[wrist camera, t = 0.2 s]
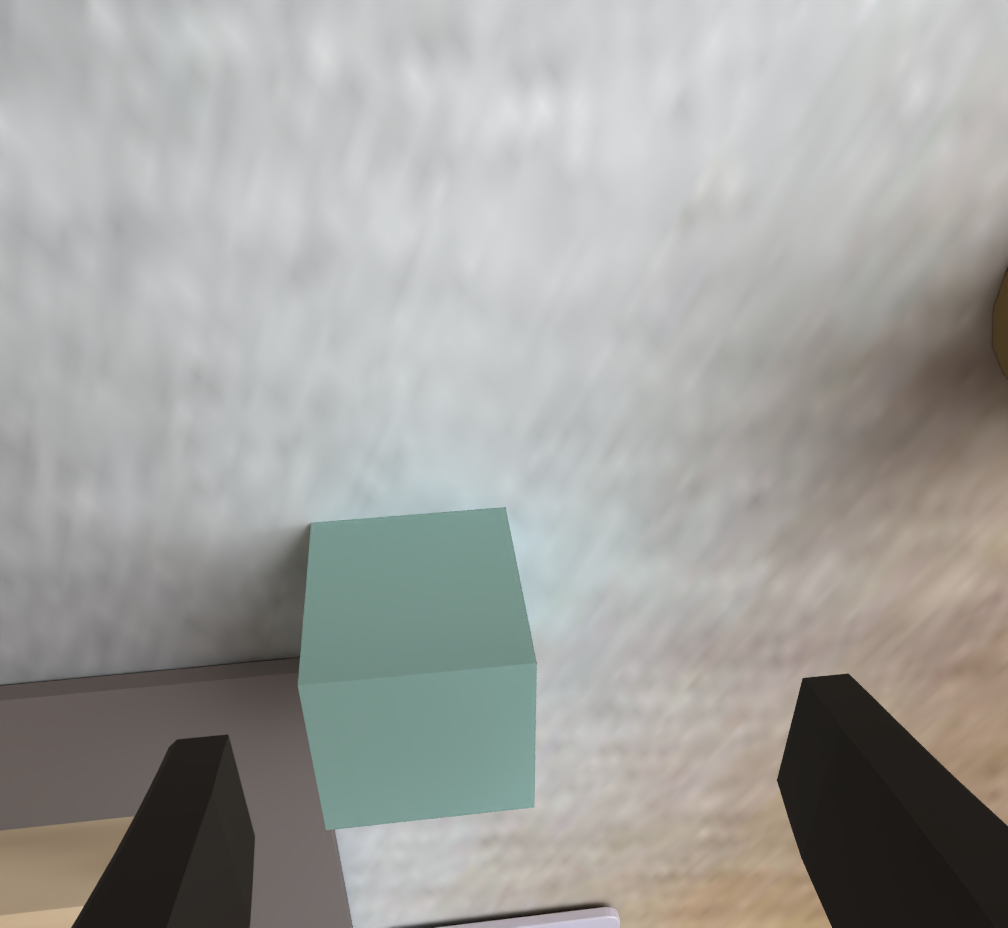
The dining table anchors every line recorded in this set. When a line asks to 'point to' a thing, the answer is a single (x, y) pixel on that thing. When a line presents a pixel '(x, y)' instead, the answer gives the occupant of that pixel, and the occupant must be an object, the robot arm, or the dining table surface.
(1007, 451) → the dining table surface
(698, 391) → the dining table surface
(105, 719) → the charcoal mat
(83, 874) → the birch slab
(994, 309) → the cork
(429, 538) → the teal block
